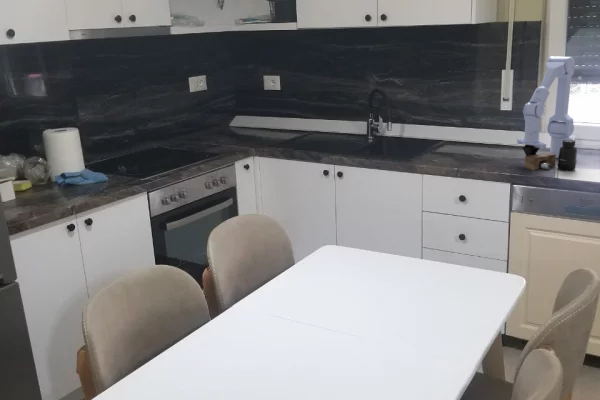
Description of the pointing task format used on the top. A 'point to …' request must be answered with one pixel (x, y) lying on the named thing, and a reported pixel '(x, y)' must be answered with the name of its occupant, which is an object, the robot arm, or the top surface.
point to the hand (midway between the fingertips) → (530, 162)
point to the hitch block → (539, 160)
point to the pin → (544, 166)
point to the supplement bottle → (567, 156)
